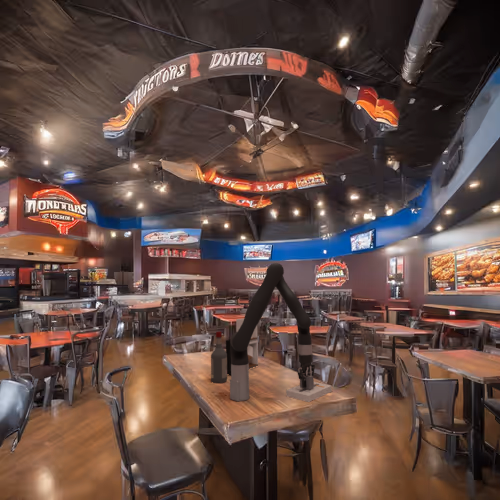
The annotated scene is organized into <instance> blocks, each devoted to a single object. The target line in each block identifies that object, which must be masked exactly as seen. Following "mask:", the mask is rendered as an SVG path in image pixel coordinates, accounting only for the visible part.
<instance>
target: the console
mask: <svg viewBox="0 0 500 500" xmlns="http://www.w3.org/2000/svg"><path fill="white" fill-rule="evenodd" d="M332 392H333V389H332V385H331V384H325V383H321V382H317V381H314V388H313V389H310V390H309V389H304V388H300V384H299V385H296V386H292V387H290V388H288V389H286V391H285V394H286V397H288V398H293V399H295V400H299V401H302V402H303V401H304V402H305V403H310V402H313V401H315V400H316V399H319V398H321V397H323V396H325V395H328V394H330V393H332ZM312 400H313V401H312Z"/></svg>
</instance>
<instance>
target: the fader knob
mask: <svg viewBox="0 0 500 500" xmlns="http://www.w3.org/2000/svg"><path fill="white" fill-rule="evenodd" d="M303 376H304V375H303ZM314 382H315V379H314V376H310V375H307V376H306V388H304V387H302V380H301V379H299V385H300V388H304V389H309V390H310V389H313V388H314Z"/></svg>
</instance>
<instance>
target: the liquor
mask: <svg viewBox="0 0 500 500" xmlns="http://www.w3.org/2000/svg"><path fill="white" fill-rule="evenodd" d="M222 335H223V332H222V331H216V332H215V337H216V338H215V339H216V342H215V343H216V344H215V349H214V350H213V351H212V352H211V354H210V381H211V383H212V382H213V384H223V383H224V382H225V383H226V382H227V380H228V375H227V353H226V349H224V347H223V346H222ZM225 383H224V384H225Z"/></svg>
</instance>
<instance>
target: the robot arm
mask: <svg viewBox="0 0 500 500" xmlns="http://www.w3.org/2000/svg"><path fill="white" fill-rule="evenodd" d="M284 273H285V270H284V267H283V265H282V264H280V263H279V262H278V263H277V262H274V263H271V264H269V266H267V269H266V271H265V276H264V279H263V281H262V283H261V285H260V286H259V287H258V289H257V290H256V292H255V293H254V294H253V296H252V298H251V300H250V302H249V303H248V306H247V309H246V312H245V315H244V321H243V323H242V325H241V327H240V329H239V330H238V332H237V331H235V332H234V333H233V334H232V335H231V336H230V339H231V340H230V351H231V375H230V376H231V377H230V379H229V399H230V400H232V401H235V402H243V401H247V400H249V399H250V376H249V375H250V372H249V371H250V370H249V359H248V352H247V347H248V345H249V343H250V340H251V337H252V335H253V332H254V330H255V328H256V326H257V327H258V325H259V323H260V320H261V319H262V317H263V315H264V314H265V311H266V309H267V308H268V305H269V304H270V302H271V301H270V300H271V298H272V297H273V293H274V290H275V288H276V289H277V291H278V292H279V294H280V296H281V297H282V299H283V301H284V303H285V304H286V306H287V308H288V310H289V311H290V313H291V314H292V315H293V316H294V319H295V320H296V325H297V326H296V327H297V328H296V329H297V334H298V336H297V337H298V338H297V339H298V340H297V341H298V348H297V352H298V353H297V354H298V363H300V365H299V368H296V372H297V377H298V379H299V380H300V379H301V380H302V387H304V388H306V376H307V375H310V376H313V377H314V375H315V368H316V366H315V364H313V362H314V358H313V356H314V354H313V345H312V344H313V343H312V334H311V329H310V328H311V326H312V319H311V317H310V316H309V315H308V313H307V312H306V310H305V309H304V307H303V305H302V304H301V302H300V300H299V298H298V297H297V295H296V294H295V292H294V291H293V289H291V288H290V286H289V285H288V283H287V282H286V280H285V278H284ZM303 375H304V376H303Z"/></svg>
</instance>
